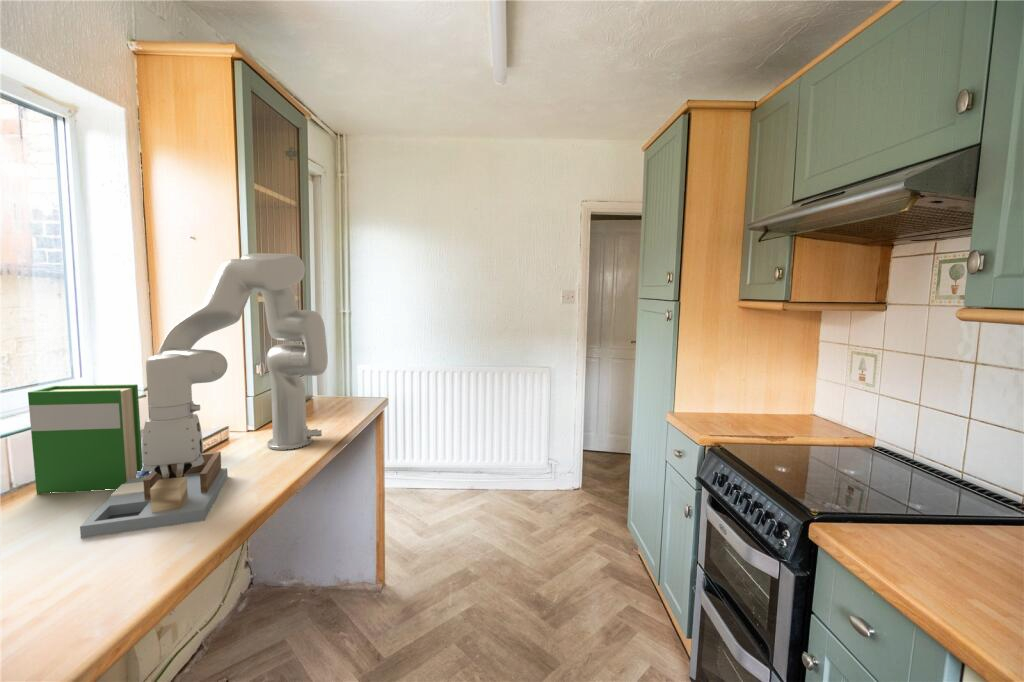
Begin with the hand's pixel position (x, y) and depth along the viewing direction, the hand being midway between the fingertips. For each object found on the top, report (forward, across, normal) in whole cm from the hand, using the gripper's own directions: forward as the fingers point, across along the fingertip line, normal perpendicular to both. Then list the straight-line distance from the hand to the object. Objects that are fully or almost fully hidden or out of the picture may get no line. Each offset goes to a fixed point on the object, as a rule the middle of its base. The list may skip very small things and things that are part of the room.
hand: (175, 493), depth 98 cm
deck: (+3, +3, -4) cm, 6 cm away
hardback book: (+4, +22, -20) cm, 30 cm away
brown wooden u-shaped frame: (+1, 0, -8) cm, 8 cm away
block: (+1, 0, +4) cm, 4 cm away
